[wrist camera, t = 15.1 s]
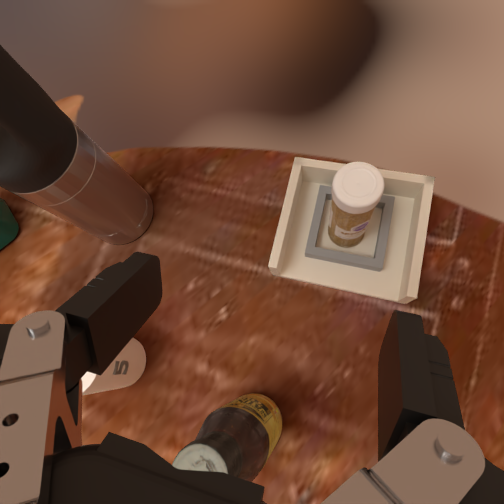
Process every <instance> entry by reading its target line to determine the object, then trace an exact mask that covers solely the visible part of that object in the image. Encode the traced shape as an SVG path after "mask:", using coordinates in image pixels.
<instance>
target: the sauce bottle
mask: <svg viewBox="0 0 504 504" xmlns="http://www.w3.org/2000/svg"><path fill="white" fill-rule="evenodd" d="M281 432H282V415H281V412H280V410H279V408H278V407H277V405H276V404H275V402H274V401H273V400H272V399H270V398H269V397H266V396H264V395H262V394H257V393H251V394H246V395H243V396H241V397H239V398H237V399H236V400H234V401H232V402H230V403H228V404H226V405H224V406H223V407H221V408H218V409H217V410H215V411H213V412H212V413H211V414H210V415H209V416H208V417H207V418H206V420H205V421H204V423H203V425H202V427H201V429H200V431H199V433H198V435H197V437H196V439H195V441H192V442H191V443H189V444H188V445H187V446H185V447H184V448H183V449H182V450H181V451H180V452H179V453H178V454H177V456H176V458H175V460H174V462H173V464H172V466H174V467H175V468H177V469H182V470H196V471H212V472H224V473H227V474H230V475H232V476H235V477H238V478H241V479H244V480H247V481H249V482H252V481H253V480H254V479H255V477H256V476H257V475H258V473H259V472H260V471H261V469H262V468H263V467H264V465H265V463H266V461H267V460H268V458H269V456H270V454H271V453H272V451H273V449H274V447H275V446H276V444H277V442H278V440H279V438H280V435H281Z"/></svg>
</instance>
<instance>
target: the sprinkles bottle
mask: <svg viewBox="0 0 504 504" xmlns="http://www.w3.org/2000/svg"><path fill="white" fill-rule="evenodd" d="M383 191H384V179H383V176H382V174H381V172H380V171H379V170H378V169H377V168H376V167H375V166H373V165H371V164H369V163H366V162H351V163H348V164H346V165H344V166H343V167H341V168H340V169H339V170H338V171H337V173H336V174H335V176H334V178H333V182H332V189H331V193H332V201H331V207H330V216H329V226H328V235H329V238H330V240H331V241H332V242H333V243H334V244H336V245H338V246H340V247H344V248H349V247H353V246H356V245H358V244H359V243H360V242H361V241H362V239H363V237H364V235H365V231H366V229H367V227H368V225H369V222H370V220H371V217H372V214H373V211H374V208H375V206H376V205H377V204H378V203H379V201H380V199H381V196H382V194H383Z"/></svg>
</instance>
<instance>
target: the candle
mask: <svg viewBox="0 0 504 504" xmlns="http://www.w3.org/2000/svg"><path fill="white" fill-rule="evenodd" d="M145 366H146V354H145V350H144V348H143V346H142V345H141V343H140V342H139V341H138V340H136V339H135V338H132V339H131V340H130V341H129V342H128V344H127V345H126V346H125V347H124V348H123V350H122V351H121V352H120V353H119V354H118V356H117V357H116V358H115V359H114V360H113V362H112V363H111V364H110V365H109V366H108V368H107V369H106V370H105V371H104V372H103V374H102V375H101V376H100V375H97V374H94V373H91V372H86V373H85V374H84V376H83V377H82V378H81V379H82V384H83V387H82V395H87V394H92V393H97V392H103V391H108V390H113V389H119V388H124V387H128V386H130V385H132V384H134V383H135V382H136V381H137V380H138V379H139V378H140V377H141V375H142V374H143V372H144V369H145Z"/></svg>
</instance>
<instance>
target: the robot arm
mask: <svg viewBox="0 0 504 504" xmlns="http://www.w3.org/2000/svg"><path fill="white" fill-rule="evenodd" d="M0 186H1V187H3V188H5V189H6V190H9V191H10V192H12V193H14V194H16V195H18V196H20V197H22V198H24V199H25V200H27V201H29V202H31V203H33V204H35V205H37V206H39V207H41V208H43V209H45V210H47V211H49V212H50V213H52V214H54V215H56V216H58V217H60V218H62V219H64V220H66V221H67V222H69V223H71V224H73V225H75V226H77V227H79V228H81V229H83V230H85V231H86V232H88V233H90V234H92V235H94V236H96V237H98V238H100V239H102V240H104V241H106V242H107V243H110V244H114V245H122V244H127V243H130V242H132V241H134V240H136V239H137V238H139V237H140V236H141V235H142V234H143V233H144V232H145V231H146V229H147V228H148V226H149V225H150V222H151V220H152V216H153V203H152V200H151V198H150V196H149V194H148V193H147V192H146V191H145V190H144V189H143V188H142V187H141V186H140V185H139V184H138V183H137V182H136V181H135V180H134V179H133V178H132V177H131V176H130V175H129V174H128V173H127V172H126V171H125V170H123V169H122V168H121V167H120V166H119V165H118V164H117V163H116V162H115V161H114V160H113V159H112V158H111V157H110V156H109V155H108V154H107V153H105V152H104V151H103V150H102V149H101V148H100V147H99V146H98V145H97V144H96V143H95V142H94V141H92V139H91V138H90V137H89V136H88V135H87V134H85V133H84V132H83V131H82V130H81V129H80V128H79V127H78V126H77V125H76V124H75V123H74V122H73V121H72V120H71V119H70V118H69V117H68V116H67V115H66V114H65V113H64V112H63V111H61V110H60V109H59V107H58V106H57V105H56V104H55V103H54V102H53V100H52V99H51V98H50V97H49V96H48V95H47V93H46V92H45V91H44V90H43V89H42V88H41V87H40V86H39V84H38V83H37V82H36V81H35V80H34V79H33V78H32V77H31V76H30V75H29V74H28V73H27V72H26V71H25V70H24V69H23V68H22V67H21V66H20V65H19V64H18V63H17V62H16V61H15V60H14V59H13V58H12V57H11V56H10V55H9V53H8V52H7V51H6V50H5V49H4V48H3V47H2V46H1V45H0ZM161 298H162V282H161V270H160V261H159V258H158V257H157V256H155V255H150V254H146V253H141V252H135V253H133V254H132V255H131V256H130V257H129V258H128V259H126V260H125V261H124V262H123V263H122V262H119V263H117V264H115V265H112V266H110V267H108V268H106V269H105V270H103V271H102V272H101V273H100V274H99V275H97V276H96V278H95V279H93V280H91V281H90V282H89V283H88V284H87V286H84V287H83V288H82V289H81V290H79V291H78V292H77V293H76V294H75V295H74V296H72V297H71V298H70V299H69V300H68V301H66V302H65V303H64V304H63V305H62V306H60V307H59V308H58V309H57V310H56V311H39V312H35V313H32V314H29V315H27V316H25V317H23V318H22V319H20V320H19V321H17V322H16V323H15V324H0V504H266V503H265V502H264V501H262V500H263V493H264V486H261V485H258V484H255V483H252V482H249V481H247V480H244V479H241V478H238V477H235V476H232V475H230V474H227V473H224V472H212V471H196V470H182V469H177V468H175V467H174V466H172V465H171V464H170V463H168V462H167V461H166V460H164V459H163V458H162V457H160V456H159V455H158V454H156V453H155V452H154V451H152V450H151V449H150V448H148V447H147V446H146V445H144V444H142V443H139V442H136V441H133V440H130V439H127V438H125V437H122V436H119V435H116V434H113V433H110V432H109V433H108V434H107V436H106V437H105V438H104V440H103V441H102V443H101V444H91V445H83V446H82V438H81V423H82V387H83V384H82V379H81V378H82V377H83V376H84V374H85V373H86V372H91V373H94V374H97V375H100V376H101V375H102V374H103V372H104V371H105V370H106V369H107V368H108V366H109V365H110V364H111V363H112V362H113V360H114V359H115V358H116V357H117V356H118V354H119V353H120V352H121V351H122V350H123V348H124V347H125V346H126V345H127V344H128V342H129V341H130V340H131V339H132V337H133V336H134V335H135V334H136V333H137V331H138V330H139V329H140V328H141V327H142V325H143V324H144V323H145V322H146V321H147V319H148V318H149V317H150V316H151V315H152V313H153V312H154V311H155V310H156V309H157V307H158V306H159V304H160V301H161ZM321 504H504V471H503V470H501V469H500V468H498V467H496V466H495V465H493V464H492V463H491V462H489V461H488V460H487V459H486V458H485V457H484V455H483V453H482V450H481V449H480V447H479V445H478V444H477V442H476V441H475V440H474V439H473V438H472V436H471V435H470V434H468V433H467V432H466V431H465V428H464V424H463V420H462V415H461V411H460V406H459V402H458V397H457V393H456V388H455V384H454V381H453V375H452V370H451V368H450V361H449V357H448V352H447V350H446V349H445V347H444V346H443V344H442V343H441V342H440V340H439V339H438V337H437V336H432V335H428V334H424V329H423V323H422V317H421V316H420V315H416V314H411V313H407V312H403V311H398V310H394V312H393V314H392V317H391V320H390V322H389V325H388V328H387V331H386V334H385V337H384V340H383V343H382V346H381V350H380V355H379V363H378V463H377V464H376V465H375V466H374V467H372V468H371V469H369V470H368V469H367V468H362V469H360V470H359V471H357V472H356V473H355V474H354V475H352V476H351V477H350V478H349V479H348V480H347V481H346V482H345V483H343V484H342V485H341V486H340V487H339V488H338V489H337V490H336V491H334V492H333V493H332V494H331V495H330V496H329V497H328V498H327V499H325V500H324V501H323V502H322V503H321Z"/></svg>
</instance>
